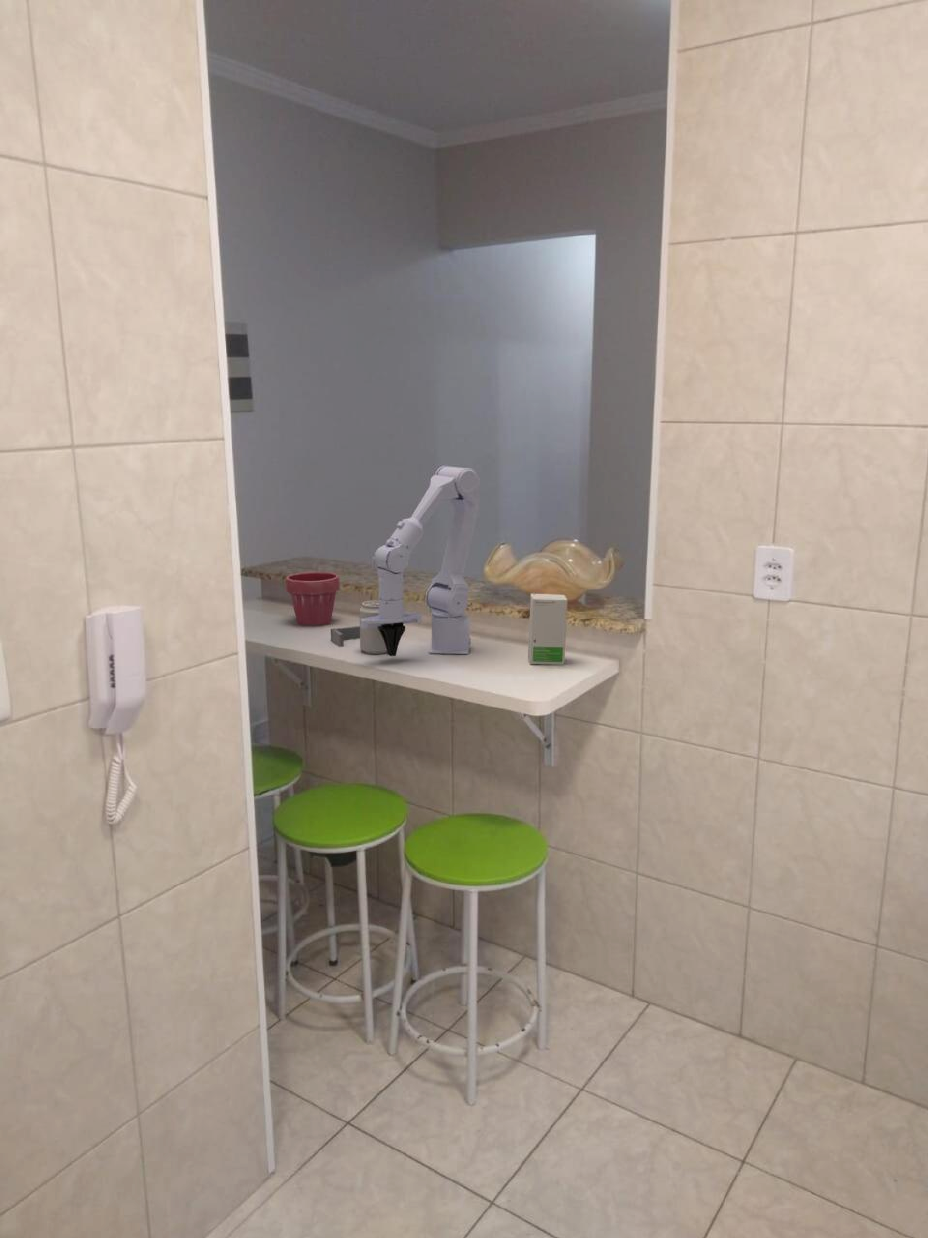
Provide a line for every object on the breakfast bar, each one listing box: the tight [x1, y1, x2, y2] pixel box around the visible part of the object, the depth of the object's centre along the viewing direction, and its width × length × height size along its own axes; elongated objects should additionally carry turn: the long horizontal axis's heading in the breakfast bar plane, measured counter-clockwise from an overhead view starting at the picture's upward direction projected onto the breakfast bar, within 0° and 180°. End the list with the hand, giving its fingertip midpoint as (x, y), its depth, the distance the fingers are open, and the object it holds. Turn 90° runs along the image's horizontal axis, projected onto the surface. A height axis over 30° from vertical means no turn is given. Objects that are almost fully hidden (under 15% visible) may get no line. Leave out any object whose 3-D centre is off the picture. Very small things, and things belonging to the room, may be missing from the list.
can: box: [358, 600, 387, 655], centre depth 228 cm, size 8×8×12 cm
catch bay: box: [330, 625, 360, 647], centre depth 238 cm, size 6×13×3 cm, turn 117°
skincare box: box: [527, 593, 569, 666], centre depth 220 cm, size 8×7×16 cm
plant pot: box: [285, 571, 340, 627], centre depth 256 cm, size 14×14×13 cm
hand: (391, 655), depth 221 cm, fingers closed
